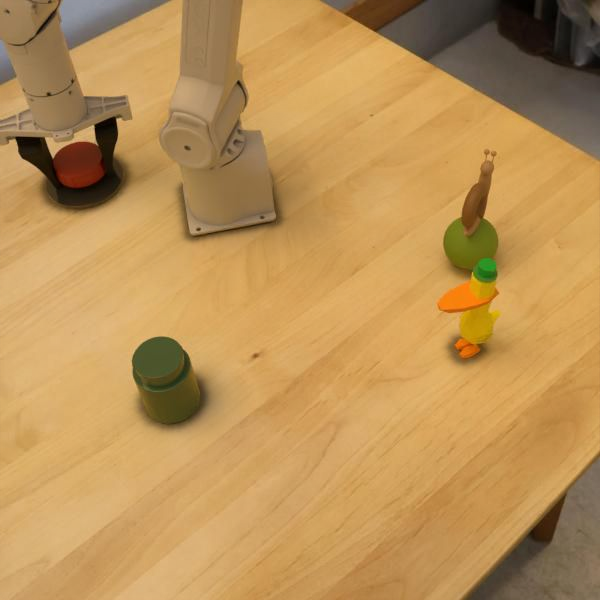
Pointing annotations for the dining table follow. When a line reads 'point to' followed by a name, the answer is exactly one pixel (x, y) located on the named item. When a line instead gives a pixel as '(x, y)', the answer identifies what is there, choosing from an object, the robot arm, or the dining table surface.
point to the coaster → (87, 191)
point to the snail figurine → (473, 225)
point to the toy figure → (474, 307)
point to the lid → (79, 164)
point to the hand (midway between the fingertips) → (83, 176)
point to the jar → (165, 380)
